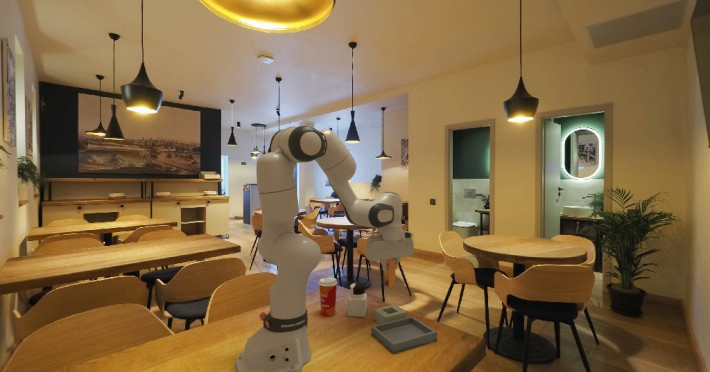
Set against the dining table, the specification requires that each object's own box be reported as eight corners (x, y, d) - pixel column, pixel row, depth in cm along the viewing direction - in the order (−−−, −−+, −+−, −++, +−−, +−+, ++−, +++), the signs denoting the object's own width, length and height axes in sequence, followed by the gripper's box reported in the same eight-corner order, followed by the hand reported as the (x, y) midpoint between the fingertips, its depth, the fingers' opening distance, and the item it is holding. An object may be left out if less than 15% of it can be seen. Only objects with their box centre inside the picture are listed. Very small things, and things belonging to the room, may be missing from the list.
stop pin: (388, 286, 123) (388, 260, 123) (384, 284, 126) (384, 259, 125) (395, 285, 124) (395, 259, 124) (390, 283, 127) (391, 258, 127)
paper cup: (316, 311, 134) (316, 278, 133) (333, 308, 137) (333, 275, 137) (322, 319, 127) (322, 284, 126) (340, 315, 130) (340, 281, 129)
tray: (393, 353, 102) (393, 344, 102) (371, 334, 115) (371, 326, 115) (437, 340, 110) (437, 332, 110) (411, 323, 123) (412, 316, 123)
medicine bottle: (366, 309, 136) (366, 281, 135) (365, 317, 129) (365, 287, 128) (349, 309, 136) (349, 281, 136) (347, 316, 129) (347, 287, 129)
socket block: (384, 327, 120) (384, 317, 119) (373, 319, 127) (373, 309, 127) (406, 322, 124) (406, 312, 124) (394, 314, 131) (394, 304, 131)
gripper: (371, 237, 117) (370, 275, 117) (416, 233, 126) (415, 268, 127) (362, 234, 122) (362, 270, 123) (406, 230, 132) (406, 264, 132)
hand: (390, 269), depth 125 cm, fingers closed on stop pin, 3 cm apart
